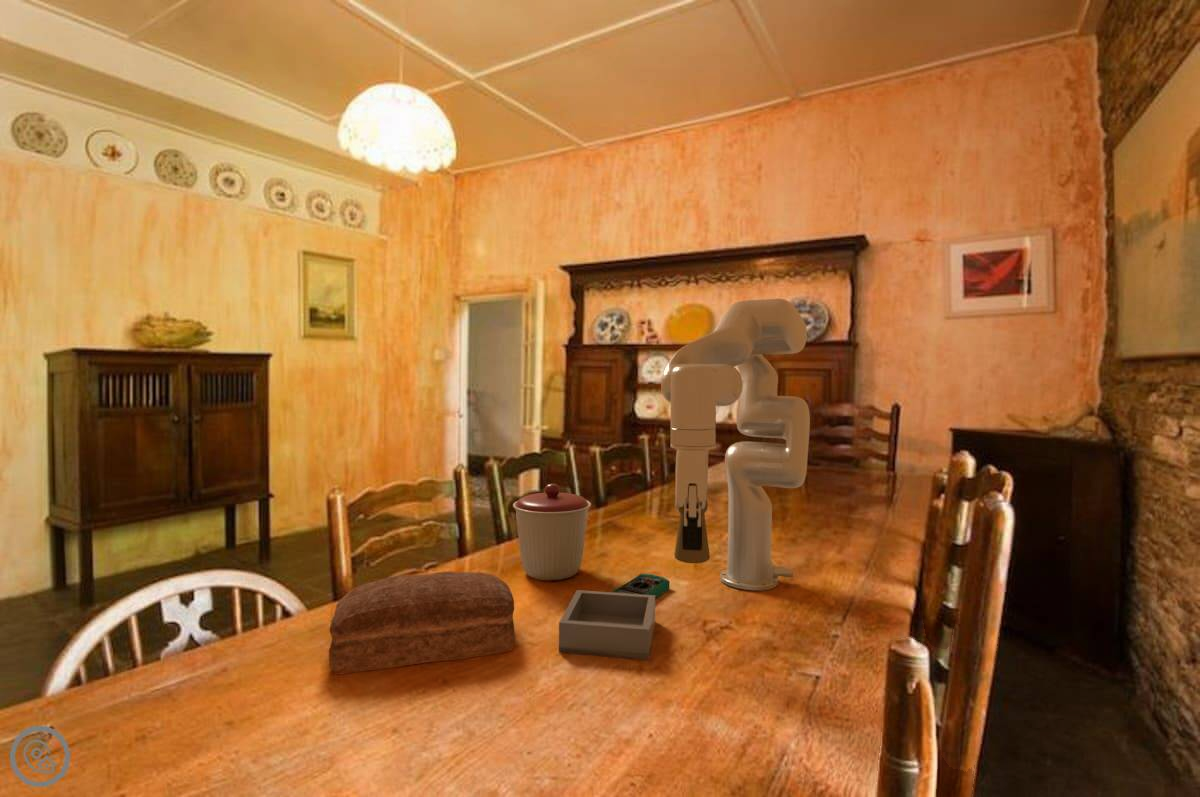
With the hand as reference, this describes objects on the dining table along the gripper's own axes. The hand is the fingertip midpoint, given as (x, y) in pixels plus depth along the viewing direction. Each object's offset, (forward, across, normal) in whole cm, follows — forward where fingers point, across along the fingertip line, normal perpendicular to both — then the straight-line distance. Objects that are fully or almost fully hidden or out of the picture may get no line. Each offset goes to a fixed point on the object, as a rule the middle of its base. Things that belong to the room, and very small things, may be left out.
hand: (692, 545), depth 98 cm
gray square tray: (+17, -1, -14) cm, 23 cm away
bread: (+17, +7, -45) cm, 49 cm away
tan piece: (+2, -1, 0) cm, 3 cm away
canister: (+18, -31, -32) cm, 48 cm away
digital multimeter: (+18, -21, -11) cm, 30 cm away
